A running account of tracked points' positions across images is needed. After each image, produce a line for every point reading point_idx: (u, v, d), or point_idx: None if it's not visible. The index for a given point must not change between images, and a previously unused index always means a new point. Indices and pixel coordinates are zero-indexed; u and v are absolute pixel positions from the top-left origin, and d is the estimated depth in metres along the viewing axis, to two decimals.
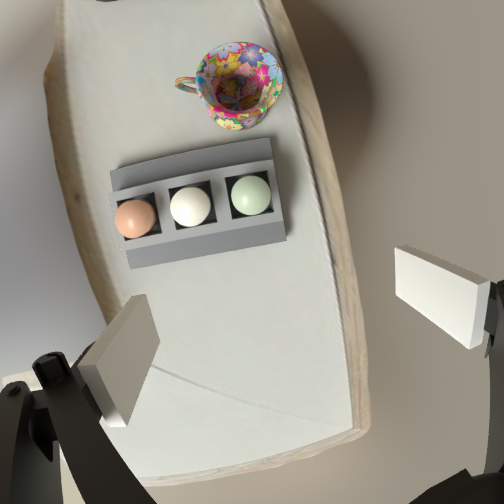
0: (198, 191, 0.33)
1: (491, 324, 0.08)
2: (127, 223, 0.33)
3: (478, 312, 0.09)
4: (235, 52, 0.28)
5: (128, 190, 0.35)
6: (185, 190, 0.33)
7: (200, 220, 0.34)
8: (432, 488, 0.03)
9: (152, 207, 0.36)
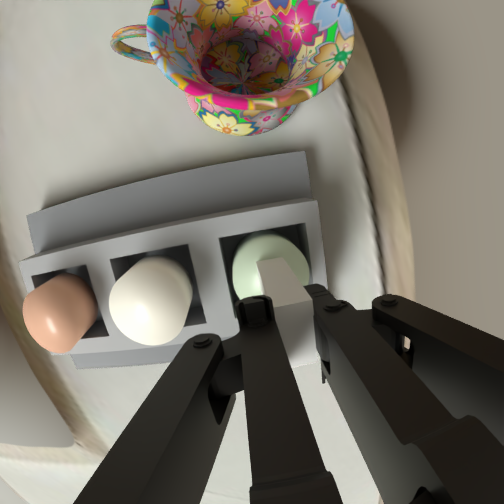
0: (161, 279, 0.15)
1: (320, 351, 0.10)
2: (42, 327, 0.15)
3: (302, 330, 0.11)
4: None
5: (45, 258, 0.17)
6: (134, 277, 0.15)
7: (170, 335, 0.16)
8: (432, 488, 0.03)
9: (86, 292, 0.18)
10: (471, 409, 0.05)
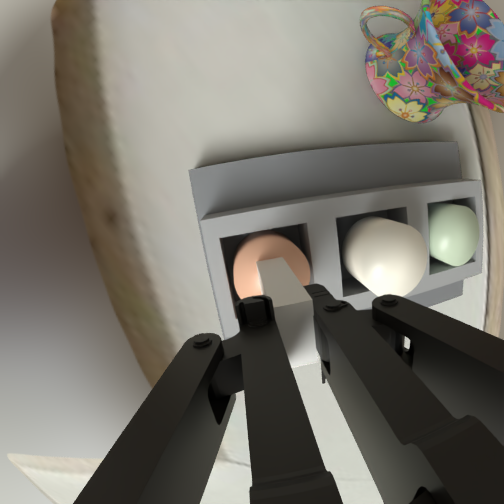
0: (415, 232, 0.15)
1: (320, 351, 0.10)
2: None
3: (302, 330, 0.11)
4: (454, 1, 0.11)
5: (249, 216, 0.17)
6: (394, 229, 0.15)
7: (410, 287, 0.16)
8: (432, 487, 0.03)
9: None
10: (471, 409, 0.05)
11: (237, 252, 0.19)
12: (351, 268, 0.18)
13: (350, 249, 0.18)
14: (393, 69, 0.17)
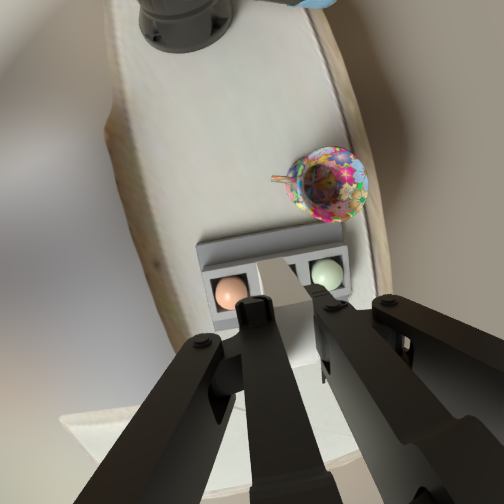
0: None
1: (320, 351, 0.10)
2: (226, 298, 0.42)
3: (302, 330, 0.11)
4: (327, 154, 0.35)
5: (221, 270, 0.42)
6: None
7: None
8: (432, 488, 0.03)
9: (244, 281, 0.44)
10: (471, 409, 0.05)
11: (217, 283, 0.44)
12: None
13: None
14: (296, 190, 0.42)
